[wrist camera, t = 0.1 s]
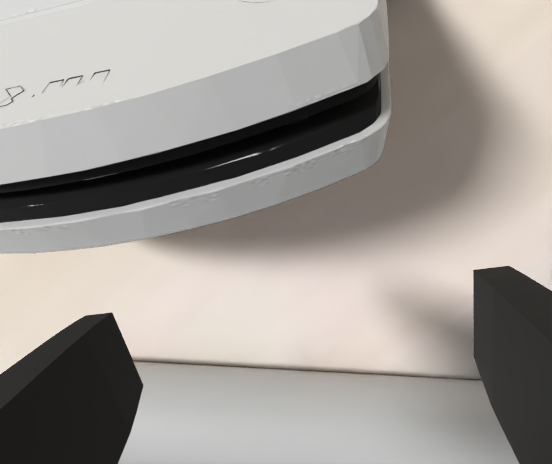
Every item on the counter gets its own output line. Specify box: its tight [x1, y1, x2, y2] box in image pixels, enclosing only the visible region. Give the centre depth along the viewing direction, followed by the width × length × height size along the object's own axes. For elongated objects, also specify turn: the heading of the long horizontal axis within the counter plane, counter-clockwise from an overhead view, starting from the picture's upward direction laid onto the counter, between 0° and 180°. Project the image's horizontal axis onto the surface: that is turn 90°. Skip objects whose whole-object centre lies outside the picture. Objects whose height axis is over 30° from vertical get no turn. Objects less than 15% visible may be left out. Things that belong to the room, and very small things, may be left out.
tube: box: [118, 361, 519, 464], centre depth 21 cm, size 5×5×25 cm
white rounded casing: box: [0, 0, 392, 253], centre depth 13 cm, size 17×5×10 cm, turn 101°
